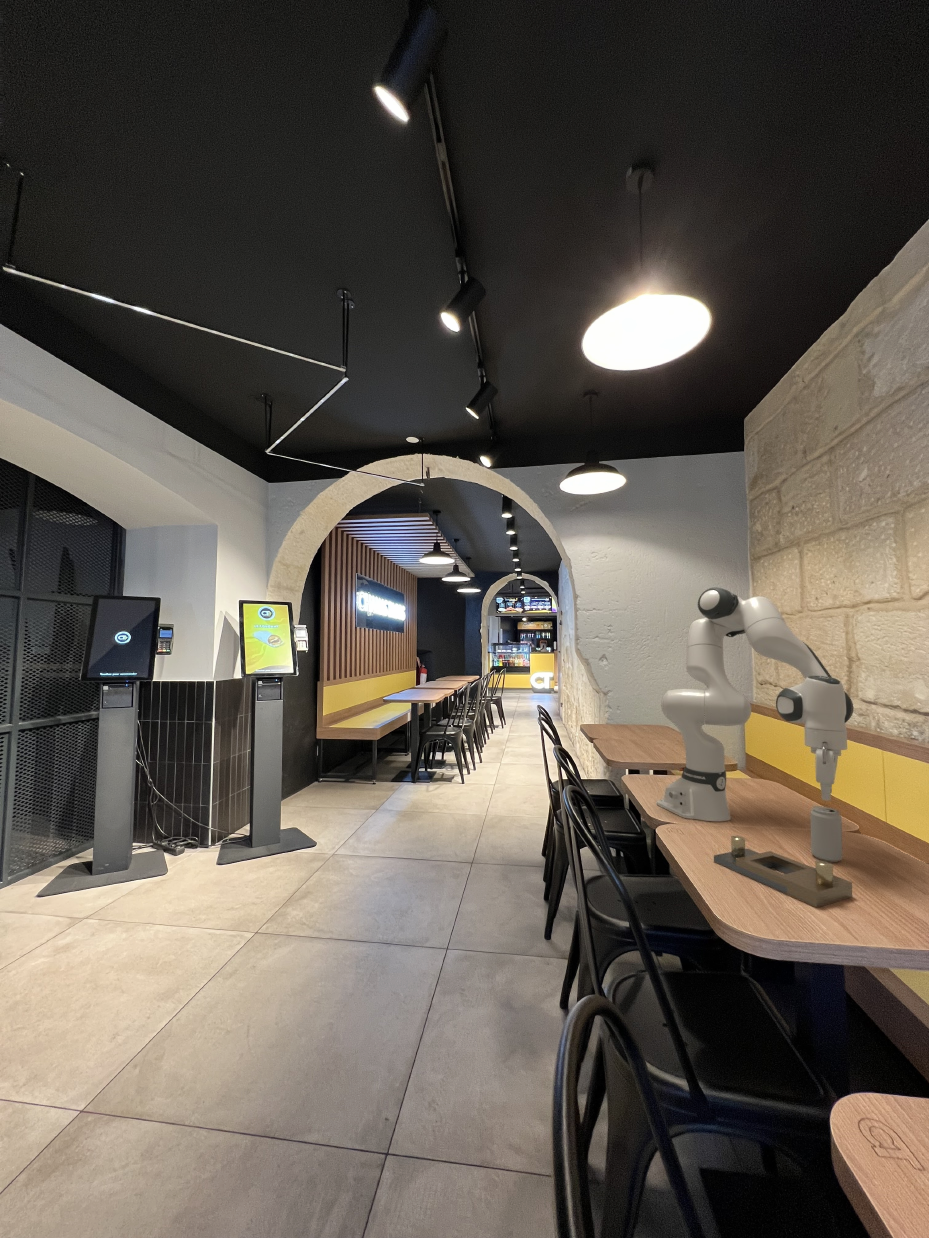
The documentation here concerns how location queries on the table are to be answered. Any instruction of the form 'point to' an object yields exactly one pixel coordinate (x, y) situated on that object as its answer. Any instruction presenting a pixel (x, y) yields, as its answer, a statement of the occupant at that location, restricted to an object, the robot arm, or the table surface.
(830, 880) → the plate with brass posts
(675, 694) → the robot arm
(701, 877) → the table surface
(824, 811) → the beverage can
